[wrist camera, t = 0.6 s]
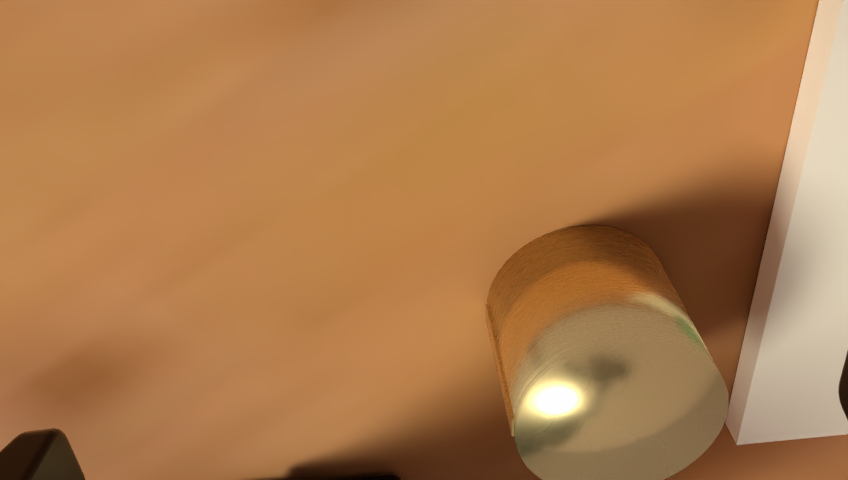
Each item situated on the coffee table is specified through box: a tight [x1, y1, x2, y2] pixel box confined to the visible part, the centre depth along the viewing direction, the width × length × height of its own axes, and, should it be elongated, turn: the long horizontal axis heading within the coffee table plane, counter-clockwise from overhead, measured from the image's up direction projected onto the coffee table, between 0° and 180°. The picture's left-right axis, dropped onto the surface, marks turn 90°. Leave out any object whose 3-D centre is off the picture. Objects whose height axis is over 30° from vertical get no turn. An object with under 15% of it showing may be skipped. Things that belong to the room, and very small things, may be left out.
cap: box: [486, 225, 729, 480], centre depth 22 cm, size 5×6×5 cm
